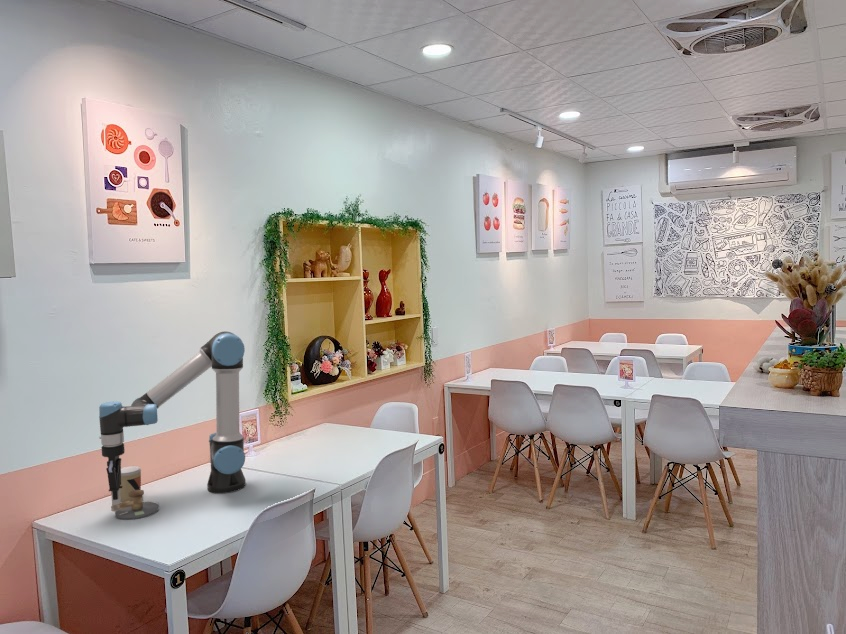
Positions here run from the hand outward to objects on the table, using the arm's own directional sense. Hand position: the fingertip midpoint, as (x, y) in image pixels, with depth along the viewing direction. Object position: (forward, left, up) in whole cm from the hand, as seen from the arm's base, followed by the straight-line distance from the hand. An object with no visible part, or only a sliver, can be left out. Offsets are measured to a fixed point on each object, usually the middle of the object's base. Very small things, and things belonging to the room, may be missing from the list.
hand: (116, 507), depth 239 cm
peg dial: (-4, 0, -2) cm, 5 cm away
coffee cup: (+4, -17, -3) cm, 17 cm away
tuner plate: (-6, -3, -3) cm, 7 cm away
